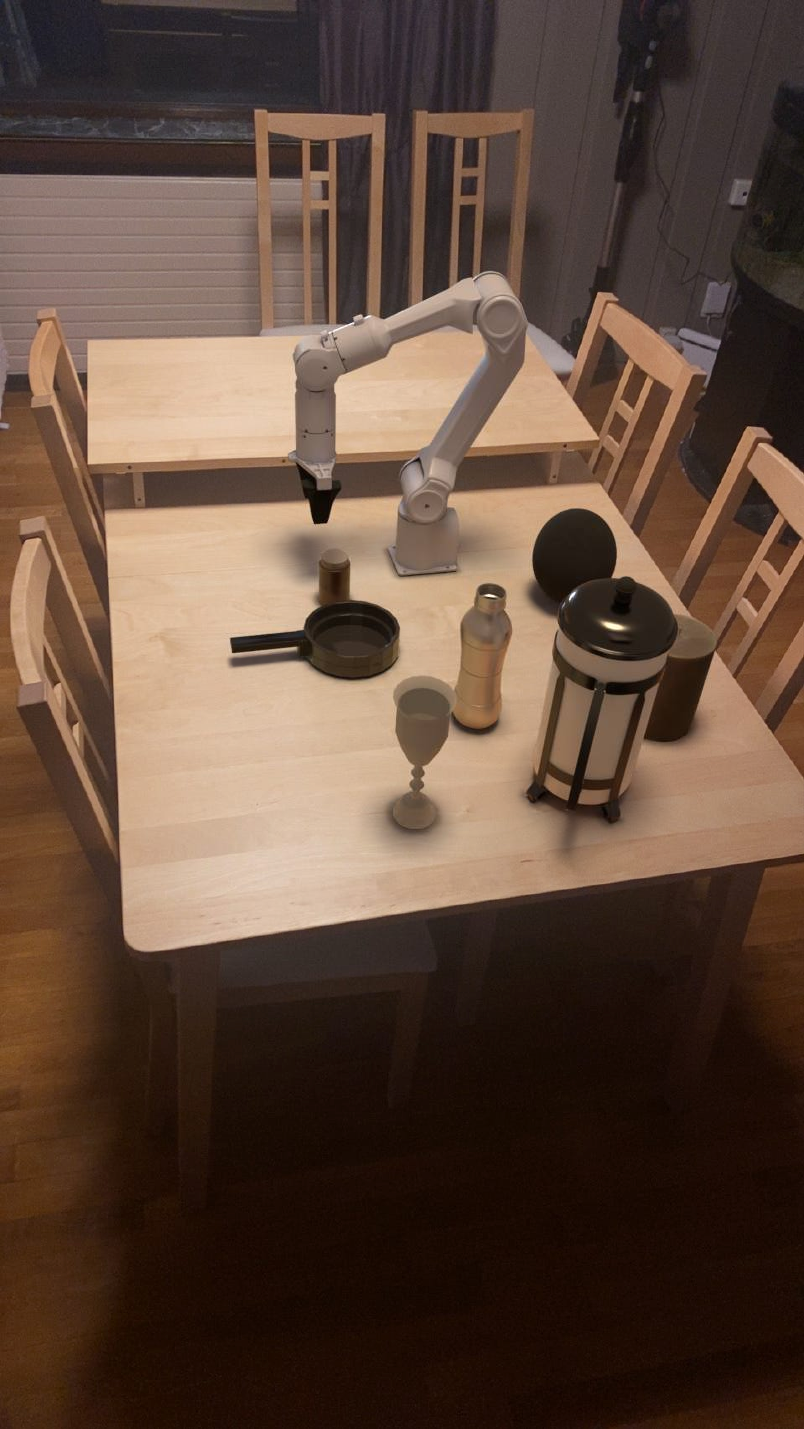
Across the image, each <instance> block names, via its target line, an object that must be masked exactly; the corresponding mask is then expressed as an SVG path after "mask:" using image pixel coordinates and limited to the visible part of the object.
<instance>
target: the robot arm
mask: <svg viewBox="0 0 804 1429" xmlns="http://www.w3.org/2000/svg"><path fill="white" fill-rule="evenodd" d="M352 320H353V322H351V323H349V324H346V325H343V326H341V327H339V328H337V329H334V330H332V331H329V332H328V330H327V329H325V330H323V331H321V332H320V335H316V334H310V335H307V336H305V337H303V338H301V339H300V340H299V341H298V343H297V344H296V345H295V347H294V350H293V352H292V360H293V363H294V372H295V376H296V380H295V382H294V383H295V393H294V417H295V418H294V419H295V420H294V421H295V449H294V450H292V451H289V452H287V459H288V462H289V463H295V465H296V467H297V470H298V474H299V479H300V484H301V488H302V493H303V496H304V499H305V500H306V499H307V500H308V504H309V510H310V516H311V520H312V523H313V524H314V525H325V524H328V522H329V519H330V516H331V512H332V509H333V506H334V502H335V500H336V497H337V496H338V495H339V493H340V492H341V490H342V482H341V480H340V479H333V478H332V474H333V471H334V468H335V466H336V464H337V463H336V462H337V459H338V458H337V457H338V453H337V451H336V434H337V432H336V430H337V427H336V426H337V425H336V424H337V395H336V394H337V393H336V392H335V385H336V383H337V381H338V379H339V377H340V376H344V375H346V374H348V373H351V372H354V371H356V370H359V369H361V368H363V367H366V366H368V365H371V364H373V363H376V362H378V361H381V360H384V359H386V358H387V357H388V355H389V354H390V351H391V349H392V347H393V346H394V345H396V344H400V343H403V342H405V341H408V340H410V339H413V338H417V337H419V336H423V335H425V334H428V333H431V332H434V331H437V330H440V329H443V328H445V327H451V328H454V329H457V330H459V331H462V332H464V333H467V334H470V335H473V333H474V328H473V326H476V328H477V330H478V332H479V333H480V335H481V339H482V343H483V347H484V350H485V353H484V355H483V357H482V359H481V360H480V361H479V363H478V365H477V367H476V368H475V370H474V372H473V373H472V375H471V376H470V378H469V379H468V382H466V384H465V386H464V388H463V390H462V391H461V393H460V394H459V396H458V397H457V399H456V400H455V402H454V404H453V406H452V407H451V409H450V411H449V412H448V414H447V416H446V417H445V418H444V420H443V421H442V424H441V426H440V428H439V429H438V430H437V431H436V433H435V435H434V437H433V439H432V440H431V441H430V443H429V444H428V445H426V446H423V447H420V449H419V450H418V452H417V454H416V455H415V456H414V457H413V458H411V459H410V460H408V461H407V462H405V463H404V465H403V466H402V467H401V469H400V471H399V474H398V482H399V485H400V487H401V490H402V495H403V496H402V498H401V500H400V501H399V503H398V505H397V516H396V518H397V519H396V537H395V545H392V546H388V547H387V552H388V554H389V556H390V558H391V560H392V562H393V566H394V567H395V569H396V572H397V575H399V576H402V577H403V576H411V575H425V574H435V573H445V572H454V571H457V570H458V566H457V557H458V547H459V539H460V523H459V522H460V521H459V517H458V513H457V510H456V509H455V508H454V507H452V506H451V507H450V506H448V501H449V496H450V494H451V493H452V492H453V489H454V487H455V482H456V478H457V472H458V468H459V466H460V465H461V463H462V461H463V459H464V458H465V456H466V455H467V454H468V452H469V450H470V449H471V447H473V444H474V442H475V441H476V439H477V438H478V436H479V435H480V433H481V432H482V430H483V428H484V427H485V425H486V424H487V423H488V421H489V419H490V418H491V416H492V414H493V413H494V411H495V410H496V408H497V407H498V405H499V404H500V402H501V400H502V399H503V397H504V395H505V394H506V392H507V391H508V389H509V388H510V386H511V385H512V383H513V382H514V380H515V379H516V377H517V376H518V374H519V372H520V371H521V369H522V367H523V366H524V363H525V360H526V359H525V358H526V356H525V355H526V340H527V339H526V338H527V329H528V327H529V322H528V319H527V315H526V313H525V309H524V307H523V305H522V303H521V302H520V300H519V299H518V297H517V295H515V293H514V291H513V288H512V285H511V284H510V282H509V280H508V278H507V277H506V276H505V275H503V274H502V273H500V272H498V271H493V270H487V271H483V272H481V273H478V274H477V275H476V276H474V278H473V277H467V278H463V279H461V280H460V281H458V282H456V283H455V284H453V285H452V286H451V287H449V288H447V289H445V290H442V291H441V292H438V293H437V294H435V295H432V296H431V297H429V298H427V299H424V300H422V301H420V302H418V303H416V304H414V305H412V306H410V307H408V308H406V309H404V310H402V311H399V312H397V313H395V314H393V315H391V316H389V317H387V318H384V319H383V318H381V317H378V316H375V315H373V314H370V315H367V316H365V317H364V316H363V314H358V315H355V316H353V317H352Z"/></svg>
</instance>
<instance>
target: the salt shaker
mask: <svg viewBox="0 0 804 1429" xmlns="http://www.w3.org/2000/svg"><path fill="white" fill-rule="evenodd" d="M350 595H351V560H350V559H349V553H348V552H347V551H345V550H343V549H340V548H329V549H326V550H323V551H322V552H321V554H320V559H319V560H318V602H319V604H320V605H321V606H322V605H325V604H328V603H331V602H335V601H344V600H351V599H350V598H351V596H350Z"/></svg>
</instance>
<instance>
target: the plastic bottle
mask: <svg viewBox="0 0 804 1429" xmlns="http://www.w3.org/2000/svg"><path fill="white" fill-rule="evenodd" d="M475 590H476V591H475V596H474V599H473V606H471V607H470V608H469V609H468V610H467V611H466V612H465V613H464V615H463V617H462V619H461V620H460V625H459V632H460V634H459V635H460V665H459V672H458V675H457V681H456V685H455V687H454V688H453V690H454V692H455V694H456V697H457V699H456V705H455V707H454V709H453V711H452V713H453V716H454V717H455V719H456V720H457V721H458V722H459V724H461V725H462V726H464V727H466V728H470V729H473V730H481V729H486V728H489V727H491V726H492V725H493V724H494V723H496V721H497V720H498V719H499V716H500V713H501V711H502V706H503V703H502V698H503V697H502V691H501V690H502V674H503V667H504V662H505V658H506V655H507V653H508V652H507V651H508V649H509V646H510V642H511V640H512V635H513V625H512V620H511V618H510V617H509V614H508V613H507V612H506V610H505V609H506V608H507V607H506V606H507V596H508V595H507V589H506V588H504V586H502V585H500V584H498V583H492V582H484V583H481V584H479V585H478V586H477V587H476V589H475Z"/></svg>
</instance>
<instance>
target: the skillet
mask: <svg viewBox="0 0 804 1429" xmlns="http://www.w3.org/2000/svg"><path fill="white" fill-rule="evenodd" d="M303 630H304V633H305V637H306V640H307V657H306V658H307V659H308V660H309V662H310V663H311V664H312V666H314V667H316V668H318V669H319V670H321V671H323V672H324V673H327V674H330V675H334V676H337V677H344V678H345V677H346V678H361V677H362V678H363V677H370V676H372V675H376V674H378V673H382V672H383V671H385V670H386V669H387V668H389V667H390V666H392V665H393V664H394V663H395V661H396V660H397V658H398V656H399V649H400V636H401V626H400V624H399V621H398V619H397V618H396V617H395V615H394V614H392V612H391V611H389V610H388V609H386V608H384V607H383V606H381V605H379V604H376V603H372V602H370V601H367V600H356V599H350V600H344V601H335V602H331V603H328V604H325V605H321V606H318V607H317V608H316V609H314V610H312V611H311V612H310V613H309V615H308V616H307V617H306V618H305V621H304V625H303Z"/></svg>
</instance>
